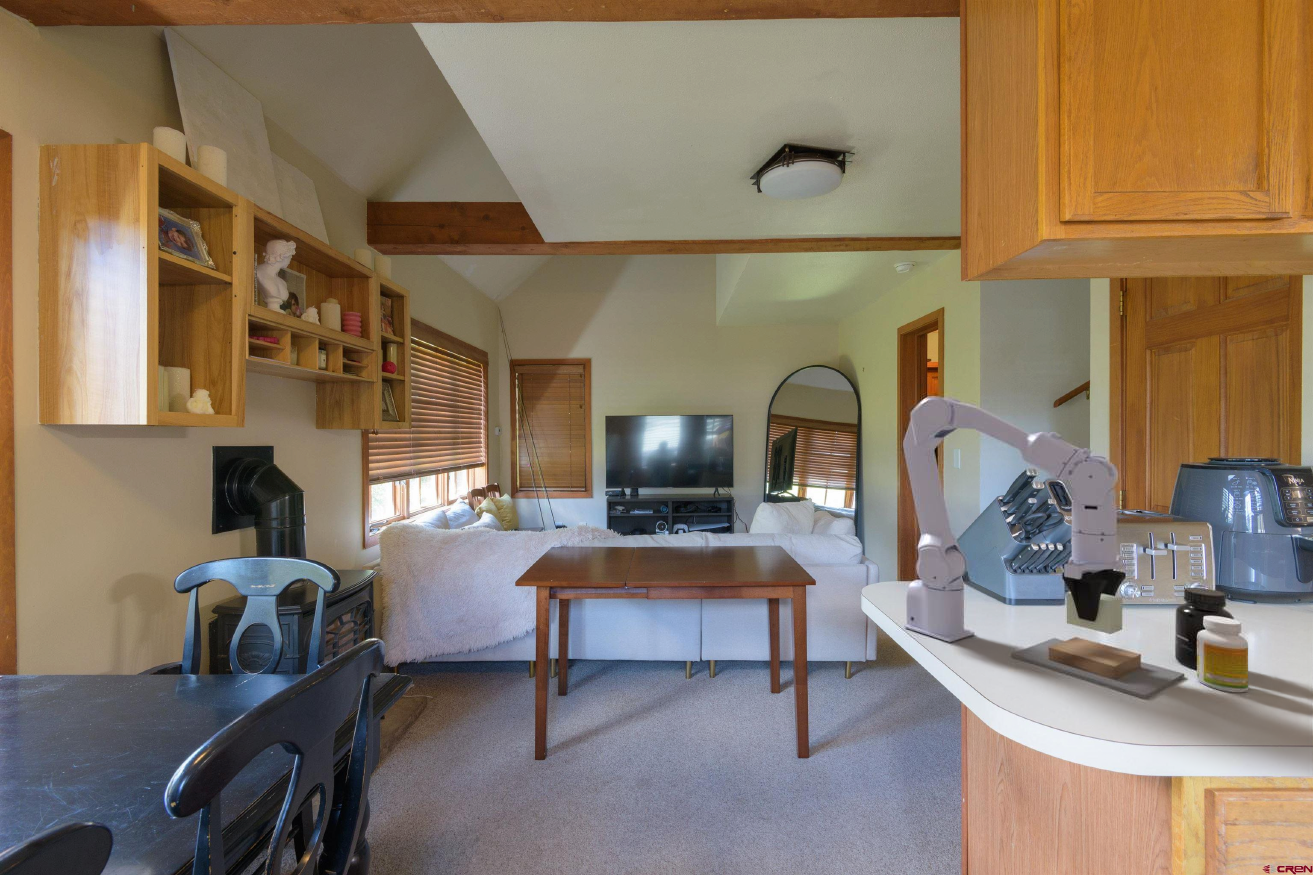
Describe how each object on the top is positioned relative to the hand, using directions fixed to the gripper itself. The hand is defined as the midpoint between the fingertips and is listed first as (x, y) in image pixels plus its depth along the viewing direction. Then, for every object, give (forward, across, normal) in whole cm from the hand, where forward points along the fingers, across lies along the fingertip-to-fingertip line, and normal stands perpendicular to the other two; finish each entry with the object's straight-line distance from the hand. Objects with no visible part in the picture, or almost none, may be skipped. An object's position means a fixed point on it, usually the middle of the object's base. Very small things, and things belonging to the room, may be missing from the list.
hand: (1093, 617), depth 92 cm
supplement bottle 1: (+8, +15, -9) cm, 19 cm away
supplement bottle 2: (+8, +8, -13) cm, 17 cm away
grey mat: (+8, 0, 0) cm, 8 cm away
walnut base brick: (+8, 0, 0) cm, 8 cm away
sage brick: (+1, 0, 0) cm, 1 cm away
